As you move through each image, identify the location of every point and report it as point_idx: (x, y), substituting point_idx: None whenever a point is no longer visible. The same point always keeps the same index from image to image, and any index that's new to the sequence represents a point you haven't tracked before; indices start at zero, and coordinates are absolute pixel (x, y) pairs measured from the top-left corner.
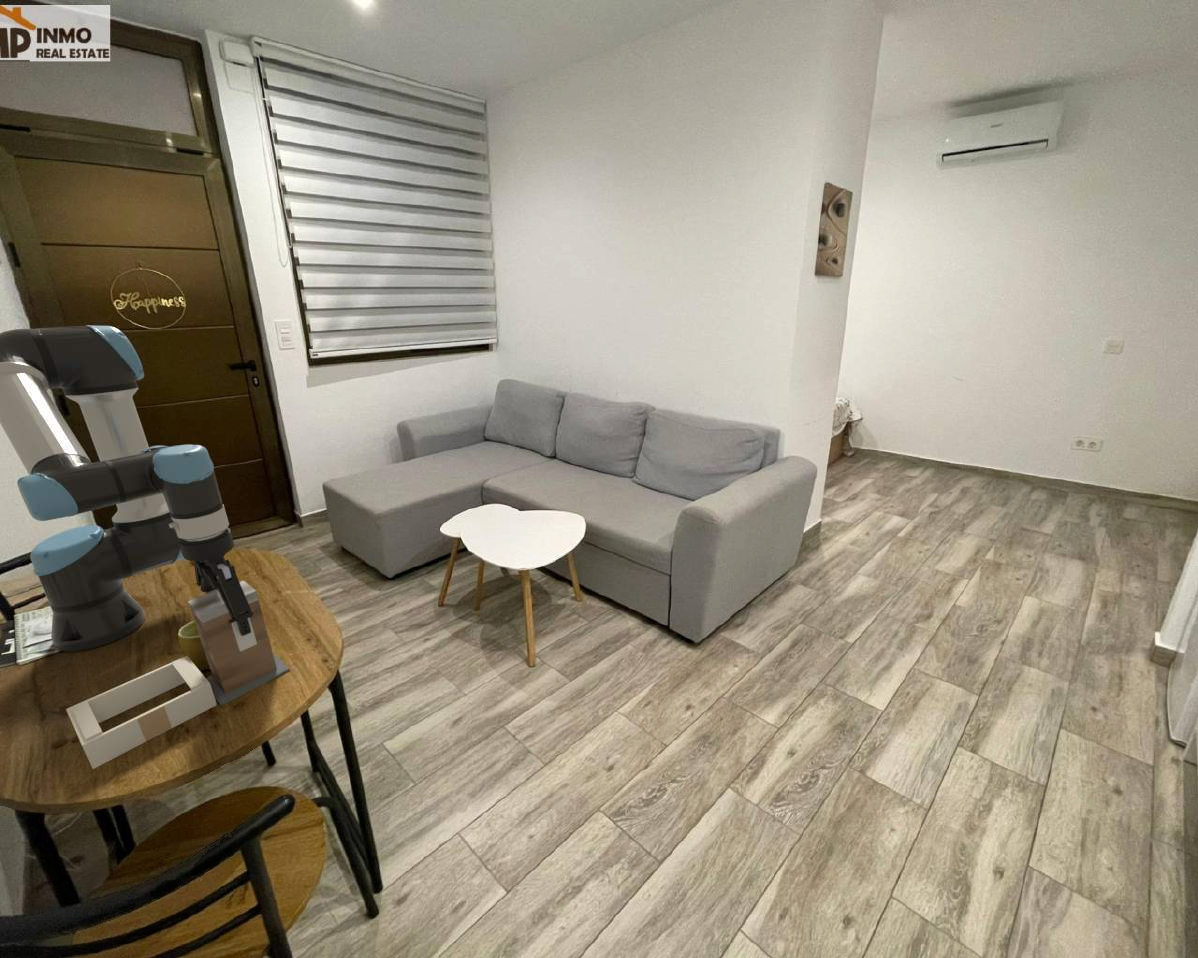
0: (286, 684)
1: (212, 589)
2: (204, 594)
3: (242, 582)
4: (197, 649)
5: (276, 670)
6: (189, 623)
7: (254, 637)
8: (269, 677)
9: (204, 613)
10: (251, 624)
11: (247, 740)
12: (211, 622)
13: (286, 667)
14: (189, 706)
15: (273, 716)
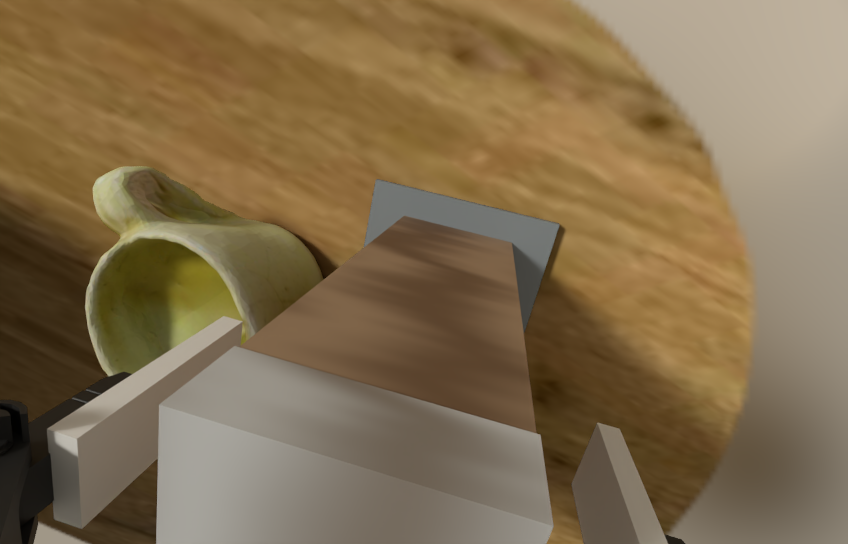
0: (613, 279)
1: (43, 476)
2: (70, 520)
3: (200, 439)
4: None
5: (521, 251)
6: (95, 340)
7: (630, 462)
8: (532, 285)
9: None
10: (665, 541)
11: (702, 471)
12: None
13: (543, 225)
14: None
15: (700, 391)
